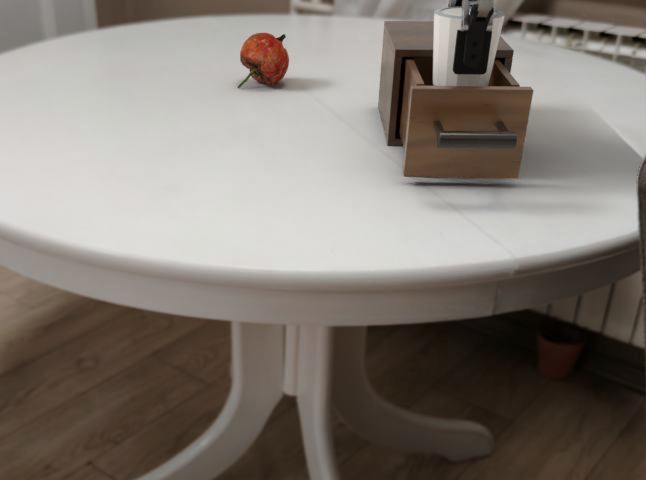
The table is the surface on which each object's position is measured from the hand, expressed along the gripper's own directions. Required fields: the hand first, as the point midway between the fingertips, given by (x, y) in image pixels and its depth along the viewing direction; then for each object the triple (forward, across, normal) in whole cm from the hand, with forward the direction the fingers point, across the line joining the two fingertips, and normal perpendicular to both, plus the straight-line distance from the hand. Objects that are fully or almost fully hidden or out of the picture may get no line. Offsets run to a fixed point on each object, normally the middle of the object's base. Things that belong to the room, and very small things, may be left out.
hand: (463, 62), depth 82 cm
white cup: (+2, 0, 0) cm, 2 cm away
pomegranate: (+11, +31, +22) cm, 40 cm away
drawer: (+10, -2, 0) cm, 10 cm away
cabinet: (+11, +13, 0) cm, 17 cm away
